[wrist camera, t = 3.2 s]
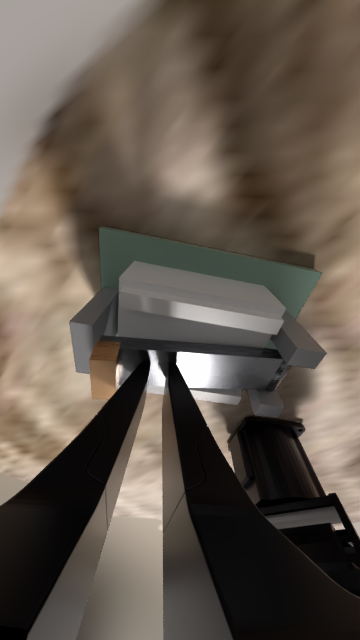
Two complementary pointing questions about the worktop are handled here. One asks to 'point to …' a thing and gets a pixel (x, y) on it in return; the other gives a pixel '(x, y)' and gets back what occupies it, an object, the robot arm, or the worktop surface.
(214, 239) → the worktop surface
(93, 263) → the worktop surface
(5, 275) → the worktop surface
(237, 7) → the worktop surface
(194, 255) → the heatsink board
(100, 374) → the grey and brown bar
